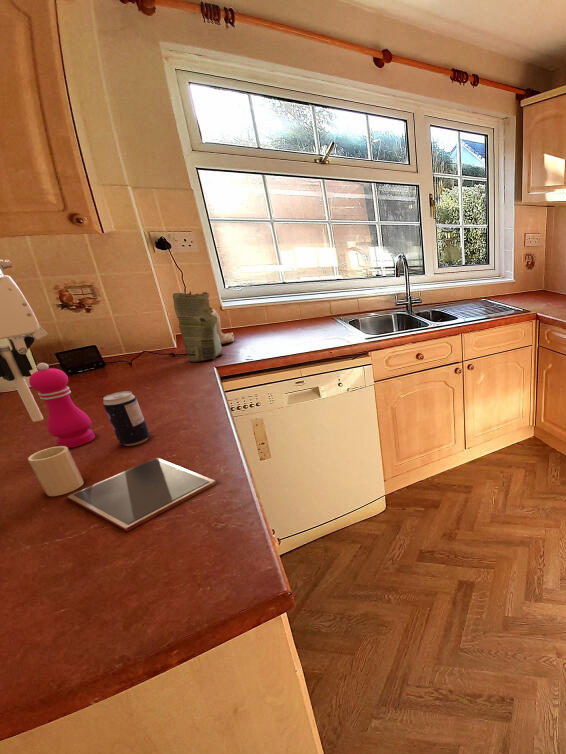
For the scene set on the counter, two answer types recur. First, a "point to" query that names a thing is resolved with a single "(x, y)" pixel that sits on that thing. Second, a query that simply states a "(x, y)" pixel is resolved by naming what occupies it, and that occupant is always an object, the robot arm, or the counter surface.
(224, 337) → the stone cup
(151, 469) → the tablet
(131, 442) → the beverage can
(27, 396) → the stylus
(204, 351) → the pouch
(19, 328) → the robot arm
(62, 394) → the pepper mill
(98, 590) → the counter surface
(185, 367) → the counter surface
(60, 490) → the pen pot
